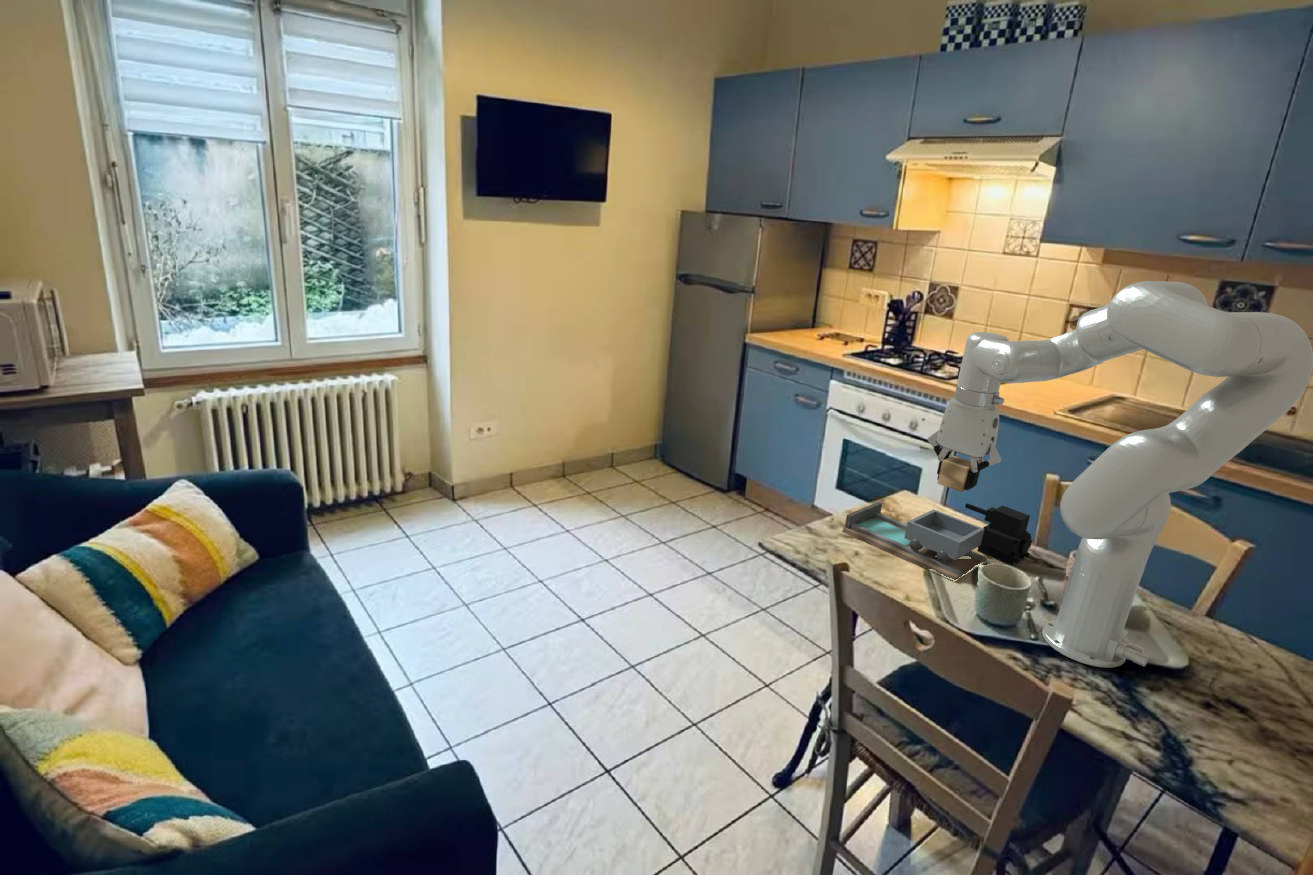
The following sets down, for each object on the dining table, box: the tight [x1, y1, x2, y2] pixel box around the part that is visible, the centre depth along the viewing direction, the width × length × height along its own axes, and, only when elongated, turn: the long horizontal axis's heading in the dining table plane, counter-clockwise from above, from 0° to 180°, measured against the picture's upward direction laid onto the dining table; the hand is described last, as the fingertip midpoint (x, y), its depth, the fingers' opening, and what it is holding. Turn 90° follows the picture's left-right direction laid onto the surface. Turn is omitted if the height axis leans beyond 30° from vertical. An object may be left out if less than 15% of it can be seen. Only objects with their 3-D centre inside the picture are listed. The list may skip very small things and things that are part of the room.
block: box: [937, 455, 971, 493], centre depth 144 cm, size 5×5×5 cm
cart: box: [904, 508, 984, 563], centre depth 148 cm, size 11×11×6 cm
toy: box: [964, 502, 1033, 566], centre depth 154 cm, size 8×14×10 cm, turn 41°
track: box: [842, 501, 988, 580], centre depth 153 cm, size 26×14×4 cm, turn 42°
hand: (955, 482), depth 144 cm, fingers closed on block, 4 cm apart
